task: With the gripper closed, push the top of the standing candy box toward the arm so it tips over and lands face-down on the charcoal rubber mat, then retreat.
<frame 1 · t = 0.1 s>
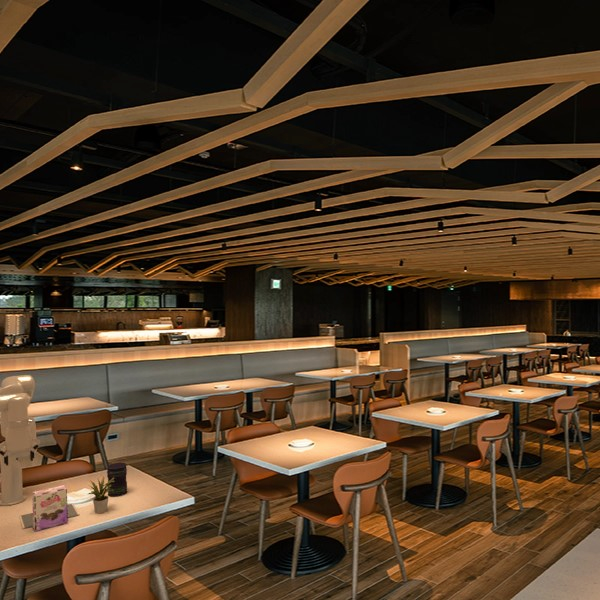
hand: (19, 462, 224), 31 cm above the table, fingers open, 9 cm apart
house plant: (102, 512, 244), on the table
dark cylindrical piece: (117, 493, 267), on the table
mat: (49, 516, 240), on the table
candy box: (50, 525, 230), on the table
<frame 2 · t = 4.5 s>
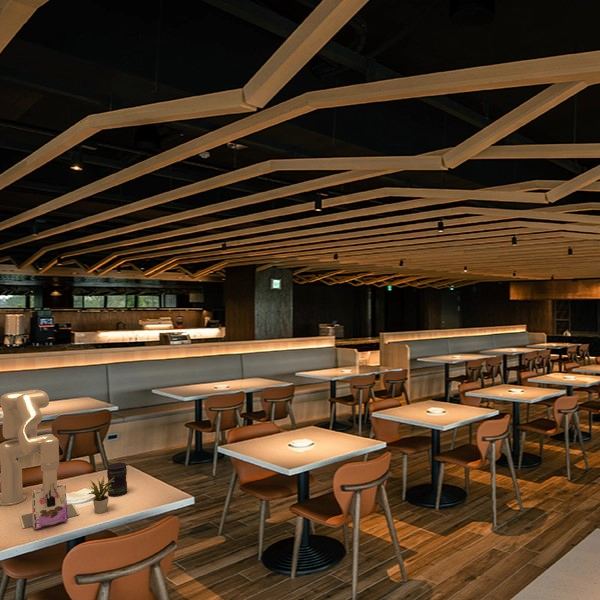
hand: (51, 506, 227), 10 cm above the table, fingers closed
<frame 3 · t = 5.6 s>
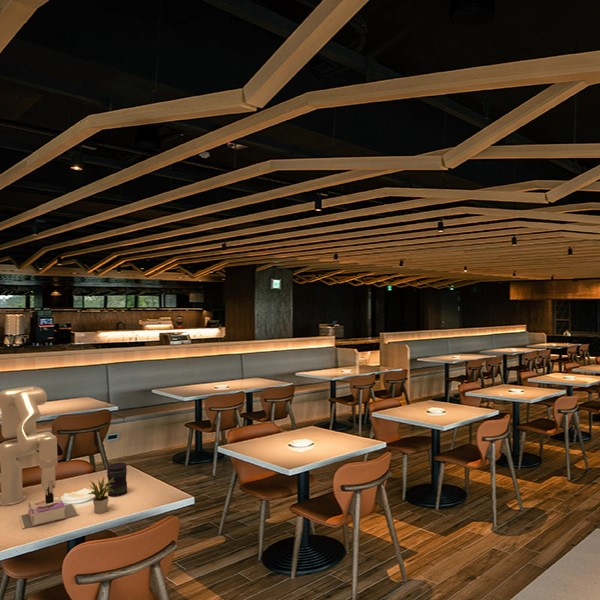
hand: (49, 502, 231), 10 cm above the table, fingers closed
candy box: (49, 516, 232), point 3 cm above the table, touching mat
everything else where it was.
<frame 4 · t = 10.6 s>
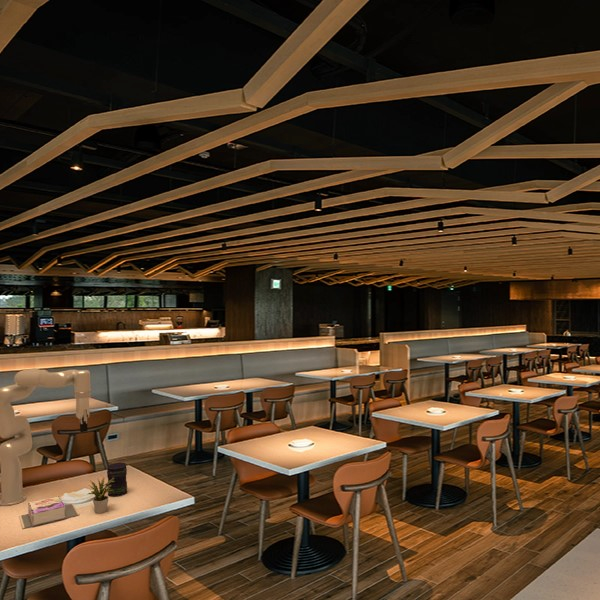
hand: (83, 431, 253), 37 cm above the table, fingers closed
nothing on the table moved.
at the end: candy box tilted 90°; candy box inside the target area (1.3 cm from its centre), point 3.4 cm above the table; the gripper is holding nothing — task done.
